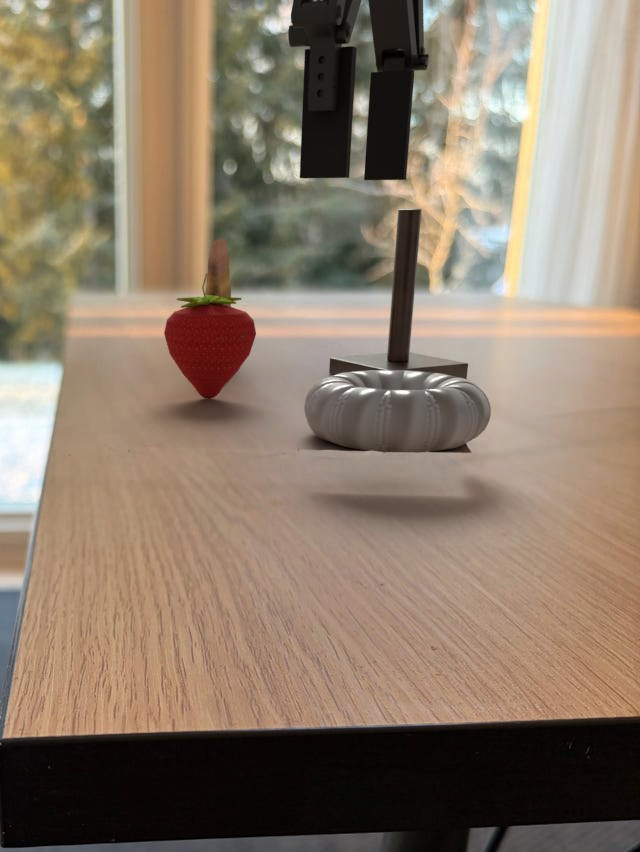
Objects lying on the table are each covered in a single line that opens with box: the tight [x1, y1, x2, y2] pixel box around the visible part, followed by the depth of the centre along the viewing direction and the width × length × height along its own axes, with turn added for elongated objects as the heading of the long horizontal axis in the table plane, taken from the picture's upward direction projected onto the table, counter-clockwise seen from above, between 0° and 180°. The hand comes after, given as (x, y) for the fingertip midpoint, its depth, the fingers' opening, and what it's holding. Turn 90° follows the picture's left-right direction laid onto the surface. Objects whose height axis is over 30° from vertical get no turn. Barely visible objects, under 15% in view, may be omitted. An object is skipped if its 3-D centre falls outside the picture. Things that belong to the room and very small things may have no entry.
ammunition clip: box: [204, 236, 232, 307], centre depth 100 cm, size 11×2×12 cm, turn 172°
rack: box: [328, 208, 469, 380], centre depth 96 cm, size 9×9×14 cm
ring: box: [303, 370, 492, 454], centre depth 73 cm, size 12×12×4 cm
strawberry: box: [163, 272, 257, 400], centre depth 86 cm, size 6×8×10 cm
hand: (357, 180), depth 66 cm, fingers open, 13 cm apart
